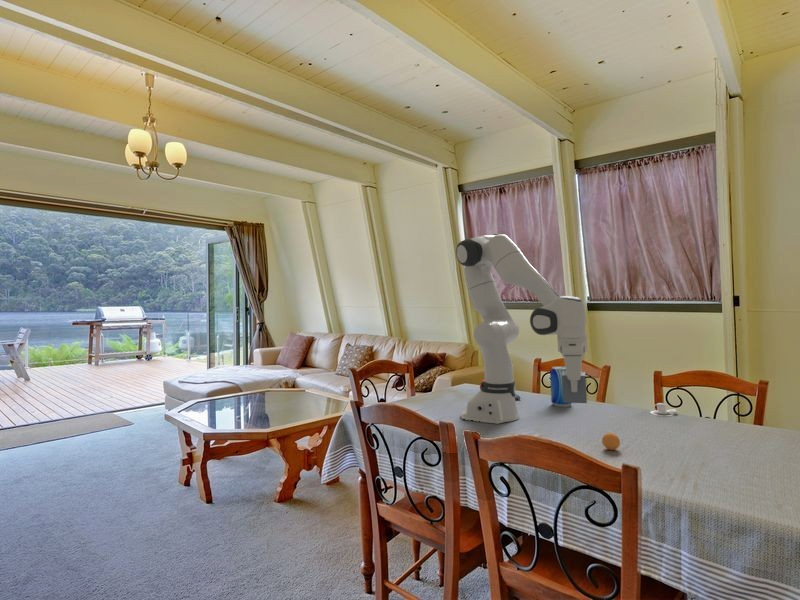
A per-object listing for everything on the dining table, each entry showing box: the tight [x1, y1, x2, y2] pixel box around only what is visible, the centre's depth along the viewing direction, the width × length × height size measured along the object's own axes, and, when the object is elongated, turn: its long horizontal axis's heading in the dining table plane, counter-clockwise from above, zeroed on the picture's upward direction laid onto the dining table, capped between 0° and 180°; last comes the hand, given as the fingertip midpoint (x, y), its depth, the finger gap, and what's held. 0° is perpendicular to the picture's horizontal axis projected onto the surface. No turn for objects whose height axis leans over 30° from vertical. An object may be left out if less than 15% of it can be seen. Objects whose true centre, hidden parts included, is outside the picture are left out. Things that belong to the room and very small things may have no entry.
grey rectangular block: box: [562, 371, 588, 404], centre depth 148 cm, size 7×7×9 cm
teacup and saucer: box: [650, 402, 678, 417], centre depth 176 cm, size 9×8×4 cm
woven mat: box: [515, 392, 521, 401], centre depth 211 cm, size 10×11×2 cm
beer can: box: [549, 365, 572, 408], centre depth 195 cm, size 8×8×16 cm
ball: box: [601, 432, 621, 451], centre depth 141 cm, size 5×5×5 cm
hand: (574, 388), depth 148 cm, fingers closed on grey rectangular block, 7 cm apart
